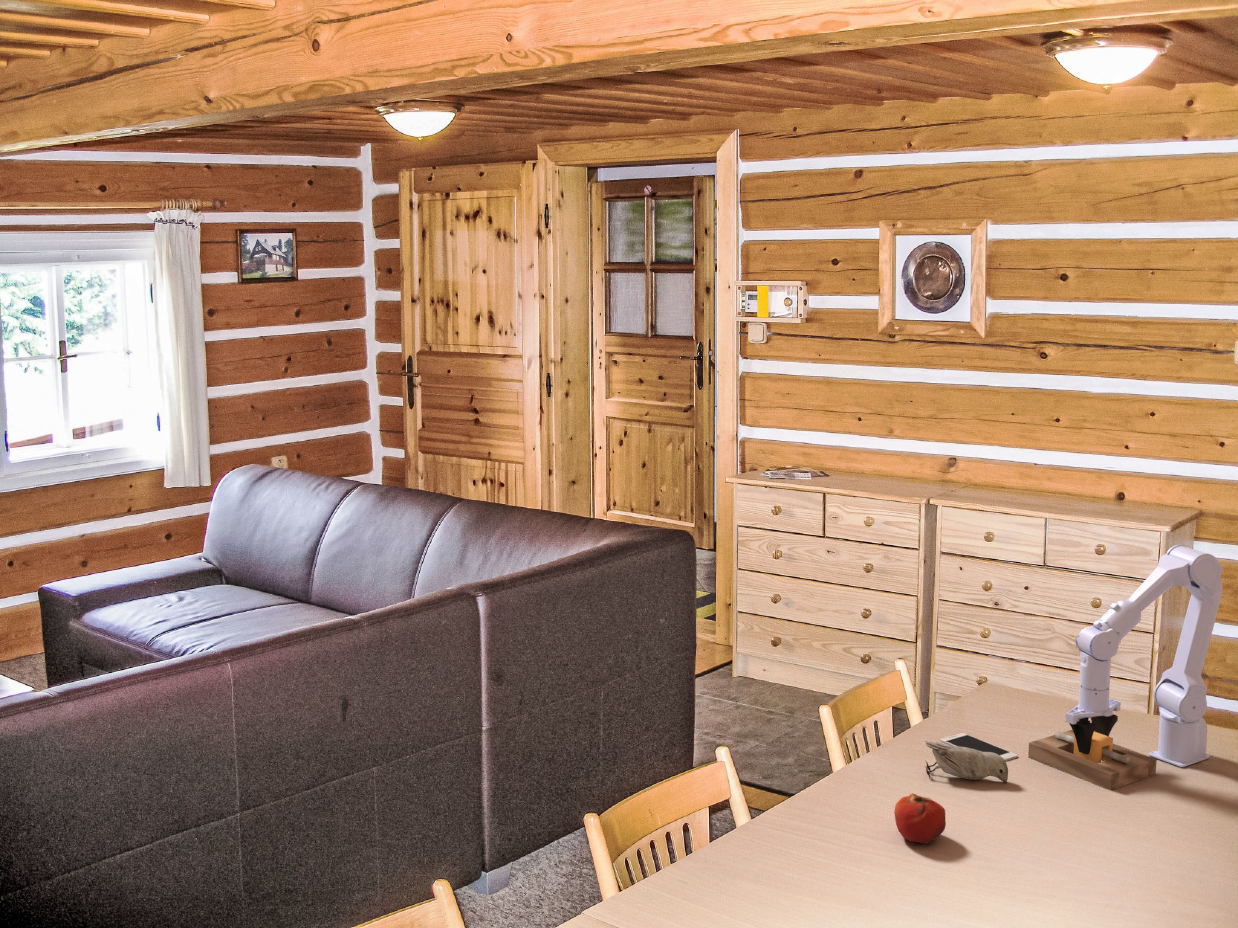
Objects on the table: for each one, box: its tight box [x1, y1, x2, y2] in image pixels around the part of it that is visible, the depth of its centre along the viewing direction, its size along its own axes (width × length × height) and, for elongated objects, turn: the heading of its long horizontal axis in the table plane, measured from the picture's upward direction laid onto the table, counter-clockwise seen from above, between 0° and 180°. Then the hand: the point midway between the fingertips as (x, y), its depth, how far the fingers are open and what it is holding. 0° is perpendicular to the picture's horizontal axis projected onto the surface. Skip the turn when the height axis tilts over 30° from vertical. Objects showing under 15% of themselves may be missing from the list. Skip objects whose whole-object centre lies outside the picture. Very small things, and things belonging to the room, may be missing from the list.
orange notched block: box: [1074, 731, 1114, 763], centre depth 255 cm, size 4×6×5 cm
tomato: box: [893, 792, 947, 844], centre depth 224 cm, size 9×9×8 cm
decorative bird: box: [924, 740, 1009, 784], centre depth 250 cm, size 5×16×8 cm, turn 75°
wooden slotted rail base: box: [1028, 729, 1158, 791], centre depth 256 cm, size 14×20×5 cm
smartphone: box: [939, 732, 1019, 762], centre depth 266 cm, size 7×15×1 cm, turn 31°
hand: (1091, 750), depth 255 cm, fingers closed on orange notched block, 4 cm apart
